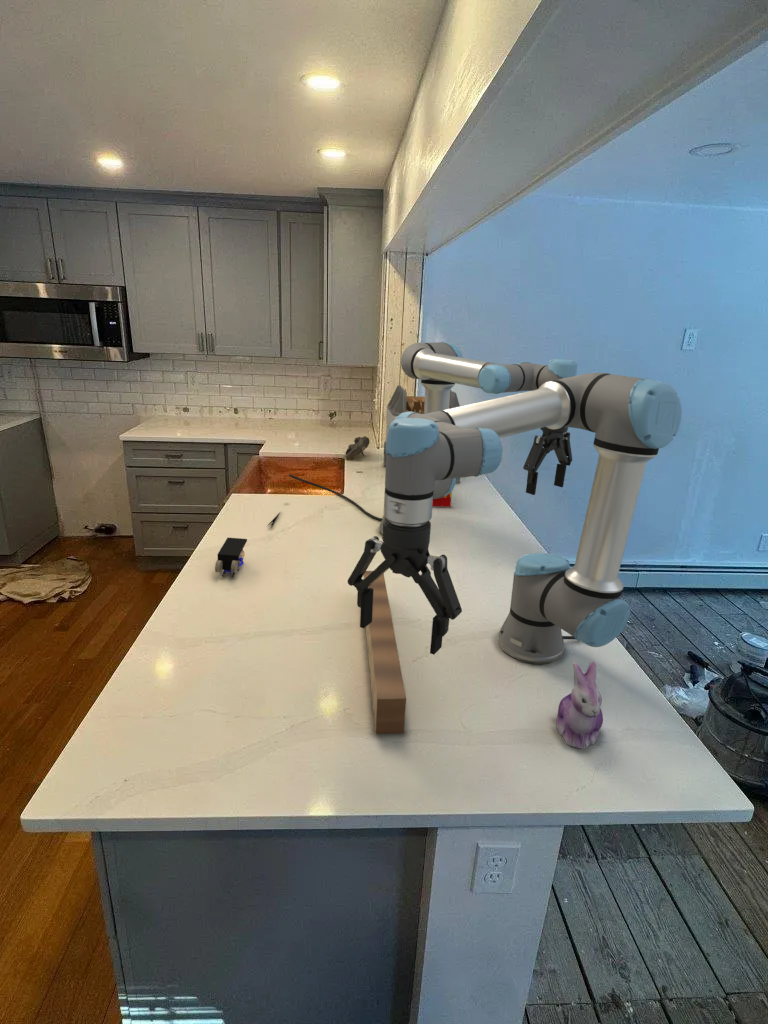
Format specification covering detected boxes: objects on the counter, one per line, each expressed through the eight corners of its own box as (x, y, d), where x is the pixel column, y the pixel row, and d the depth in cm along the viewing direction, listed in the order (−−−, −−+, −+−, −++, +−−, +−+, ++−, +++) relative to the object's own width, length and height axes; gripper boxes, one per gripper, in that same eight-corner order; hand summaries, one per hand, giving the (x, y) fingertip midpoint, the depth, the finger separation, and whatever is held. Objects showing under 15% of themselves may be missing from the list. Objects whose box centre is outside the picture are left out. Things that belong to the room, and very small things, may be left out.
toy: (446, 465, 254) (456, 474, 224) (444, 494, 256) (454, 507, 227) (419, 464, 253) (426, 473, 224) (418, 493, 256) (424, 507, 227)
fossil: (345, 442, 310) (366, 427, 305) (356, 456, 313) (377, 441, 308) (338, 456, 291) (361, 440, 286) (350, 470, 294) (373, 455, 289)
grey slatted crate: (382, 463, 289) (386, 382, 275) (445, 464, 293) (451, 384, 279) (390, 482, 257) (394, 392, 243) (460, 483, 261) (468, 394, 247)
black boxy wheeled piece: (238, 584, 162) (249, 557, 175) (236, 562, 158) (247, 536, 172) (215, 584, 161) (227, 556, 175) (212, 561, 158) (225, 535, 171)
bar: (362, 596, 156) (363, 570, 153) (381, 596, 156) (383, 570, 153) (375, 733, 106) (377, 699, 103) (403, 733, 106) (406, 698, 104)
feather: (287, 506, 225) (290, 502, 224) (270, 530, 198) (272, 526, 198) (283, 504, 225) (286, 500, 224) (265, 527, 198) (268, 523, 197)
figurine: (580, 758, 102) (595, 689, 97) (541, 722, 110) (552, 657, 105) (617, 742, 106) (633, 675, 101) (577, 709, 114) (589, 645, 109)
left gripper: (539, 423, 147) (528, 500, 154) (592, 415, 162) (580, 486, 170) (516, 418, 153) (507, 493, 160) (569, 411, 168) (558, 480, 175)
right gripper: (328, 508, 91) (327, 623, 99) (471, 546, 79) (457, 673, 87) (354, 497, 97) (351, 606, 105) (491, 530, 85) (477, 651, 93)
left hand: (544, 489), depth 165 cm, fingers open, 13 cm apart
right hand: (399, 637), depth 96 cm, fingers open, 13 cm apart
